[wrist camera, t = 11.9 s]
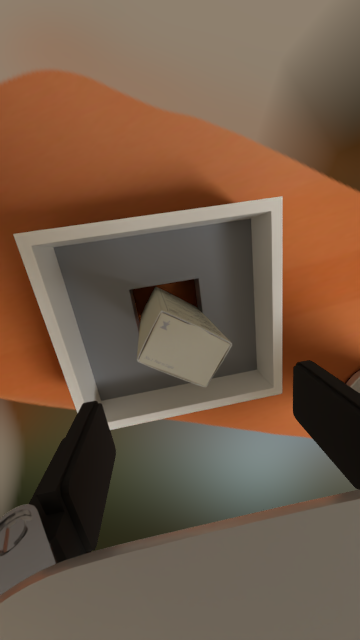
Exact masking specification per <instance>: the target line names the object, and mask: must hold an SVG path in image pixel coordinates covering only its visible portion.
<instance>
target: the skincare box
mask: <svg viewBox="0 0 360 640" xmlns="http://www.w3.org/2000/svg"><path fill="white" fill-rule="evenodd" d="M231 347H232V343H231V342H230V341H229V340H228V339H227V338H226V337H225V336H224V335H223V334H222V333H221V332H220V331H219V330H218V329H217V327H216V326H215V325H214V324H213V323H212V322H211V321H210V320H209V319H208V318H207V317H206V316H205V315H204V314H203V313H202V312H201V311H200V310H199V309H198V308H197V307H196V306H194V305H192V304H190V303H188V302H186V301H184V300H182V299H180V298H179V297H176V296H175V295H173V294H171V293H168V292H166V291H164V290H162V289H160V288H158V287H155V288H154V290H153V292H152V294H151V296H150V298H149V300H148V302H147V304H146V306H145V308H144V310H143V312H142V314H141V321H140V330H139V340H138V351H137V361H138V362H140V363H142V364H144V365H147V366H149V367H151V368H154V369H156V370H159V371H161V372H164V373H166V374H169V375H172V376H174V377H177V378H180V379H182V380H185V381H188V382H191V383H193V384H196V385H199V386H202V387H207V385H208V384H209V382H210V381H211V379H212V377H213V376H214V374H215V373H216V371H217V370H218V368H219V366H220V365H221V363H222V362H223V360H224V358H225V357H226V355H227V353H228V352H229V350H230V348H231Z"/></svg>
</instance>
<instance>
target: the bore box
mask: <svg viewBox="0 0 360 640" xmlns="http://www.w3.org/2000/svg"><path fill="white" fill-rule="evenodd" d="M13 235H14V238H15V241H16V244H17V246H18V249H19V252H20V255H21V257H22V260H23V263H24V266H25V269H26V271H27V274H28V277H29V280H30V282H31V285H32V288H33V291H34V294H35V296H36V299H37V302H38V305H39V308H40V310H41V313H42V316H43V319H44V321H45V324H46V327H47V330H48V333H49V335H50V338H51V341H52V344H53V346H54V349H55V352H56V355H57V358H58V360H59V363H60V366H61V369H62V371H63V374H64V377H65V380H66V383H67V385H68V388H69V391H70V394H71V397H72V399H73V402H74V405H75V408H76V410H77V413H78V412H79V410H80V408H81V406H82V404H83V403H86V402H91V401H97V402H98V403H101V404H102V406H103V409H104V412H105V415H106V419H107V422H108V425H109V429H110V430H112V429H117V428H122V427H126V426H130V425H136V424H140V423H145V422H150V421H154V420H159V419H164V418H169V417H174V416H178V415H183V414H188V413H192V412H197V411H202V410H207V409H211V408H216V407H221V406H226V405H230V404H235V403H240V402H245V401H249V400H254V399H259V398H263V397H268V396H273V395H278V394H282V197H275V198H267V199H260V200H253V201H246V202H239V203H232V204H224V205H217V206H210V207H203V208H196V209H189V210H181V211H174V212H167V213H160V214H153V215H146V216H138V217H131V218H124V219H117V220H110V221H103V222H96V223H88V224H81V225H74V226H67V227H60V228H53V229H45V230H38V231H31V232H24V233H17V234H13ZM191 279H194V283H195V291H196V299H197V307H198V309H199V310H200V311H201V312H202V313H203V314H204V315H205V316H206V317H207V318H208V319H209V320H210V321H211V322H212V323H213V324H214V325H215V326H216V327H217V329H218V330H219V331H220V332H221V333H222V334H223V335H224V336H225V337H226V338H227V339H228V340H229V341H230V342H231V343H232V347H231V348H230V350H229V352H228V353H227V355H226V357H225V358H224V360H223V362H222V363H221V365H220V366H219V368H218V370H217V371H216V373H215V374H214V376H213V377H212V379H211V381H210V382H209V384H208V385H207V387H202V386H199V385H196V384H193V383H191V382H188V381H185V380H182V379H180V378H177V377H174V376H172V375H169V374H166V373H164V372H161V371H159V370H156V369H154V368H151V367H149V366H147V365H144V364H142V363H140V362H138V361H137V351H138V340H139V330H140V323H139V318H138V313H137V309H136V304H135V299H134V295H133V290H132V289H136V288H142V287H148V286H155V285H161V284H167V283H173V282H179V281H185V280H191Z"/></svg>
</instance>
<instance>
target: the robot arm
mask: <svg viewBox="0 0 360 640" xmlns="http://www.w3.org/2000/svg"><path fill="white" fill-rule="evenodd" d="M293 414H294V416H295V418H296V420H297V421H298V422H299V423H300V424H301V425H302V427H303V428H304V429H305V430H306V431H307V432H308V434H309V435H310V436H311V437H312V438H313V439H314V441H315V442H316V443H317V444H318V445H319V446H320V447H321V449H322V450H323V451H324V452H325V453H326V454H327V456H328V457H329V458H330V459H331V460H332V462H334V464H335V465H336V466H337V467H338V468H339V469H340V471H341V472H342V473H343V474H344V475H345V477H346V478H347V479H348V480H349V481H350V482H351V484H352V485H353V486H354V487H355V488H357V489H359V490H355V491H351V492H346V493H342V494H337V495H333V496H328V497H324V498H319V499H315V500H310V501H306V502H301V503H296V504H292V505H288V506H283V507H279V508H274V509H270V510H266V511H261V512H257V513H252V514H248V515H244V516H239V517H235V518H230V519H226V520H222V521H217V522H213V523H209V524H205V525H200V526H196V527H192V528H187V529H183V530H179V531H175V532H170V533H166V534H162V535H158V536H153V537H149V538H145V539H141V540H136V541H132V542H129V543H125V544H121V545H117V546H113V547H109V548H105V549H101V550H97V551H94V552H91V551H92V550H95V548H96V545H97V542H98V537H99V532H100V527H101V522H102V517H103V513H104V508H105V504H106V498H107V493H108V489H109V484H110V480H111V475H112V470H113V465H114V461H115V455H116V450H115V445H114V442H113V438H112V435H111V432H110V429H109V425H108V422H107V419H106V415H105V412H104V409H103V406H102V404H101V403H98V402H97V401H91V402H86V403H83V404H82V406H81V408H80V410H79V412H78V414H77V415H76V417H75V419H74V421H73V423H72V425H71V428H70V429H69V431H68V433H67V435H66V437H65V438H64V439H63V440H62V441H61V443H60V445H59V447H58V449H57V451H56V453H55V455H54V457H53V459H52V460H51V462H50V464H49V466H48V468H47V470H46V472H45V474H44V476H43V478H42V480H41V482H40V484H39V486H38V487H37V489H36V491H35V493H34V495H33V497H32V499H31V501H30V503H29V504H27V505H21V506H19V507H16V508H14V509H12V510H11V511H9V512H8V513H6V514H5V515H4V516H2V517H1V518H0V640H360V370H359V371H358V372H356V373H355V374H354V375H353V376H352V377H351V378H350V379H349V380H348V382H347V383H346V384H345V383H344V382H342V381H341V380H339V379H338V378H336V377H335V376H333V375H332V374H330V373H329V372H327V371H326V370H324V369H323V368H321V367H320V366H318V365H317V364H315V363H314V362H312V361H310V360H308V361H303V362H298V363H297V364H296V366H294V369H293Z"/></svg>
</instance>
